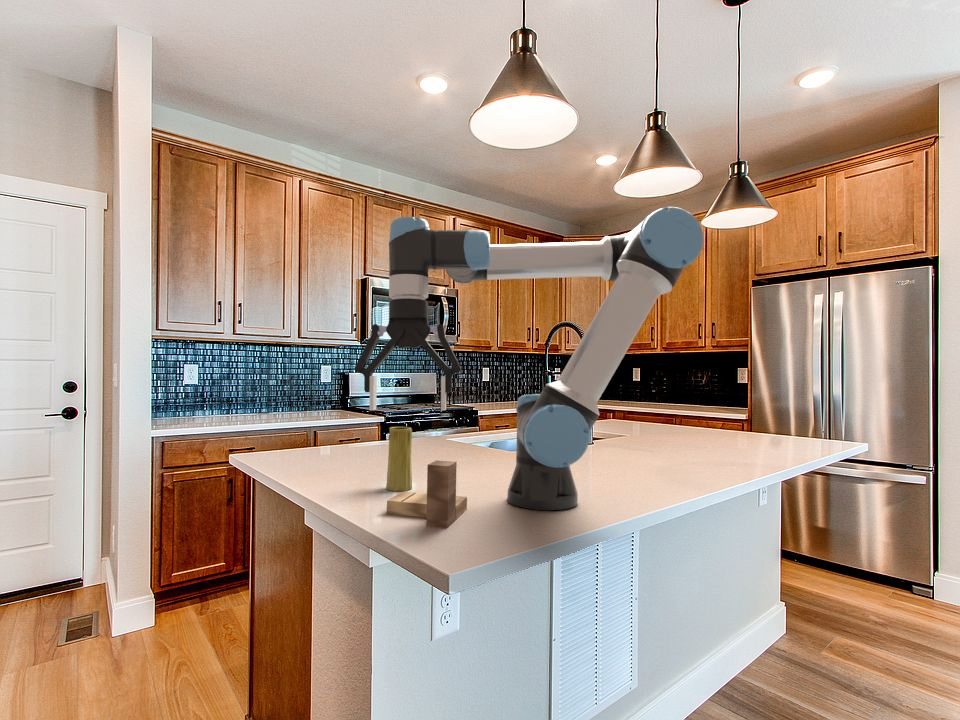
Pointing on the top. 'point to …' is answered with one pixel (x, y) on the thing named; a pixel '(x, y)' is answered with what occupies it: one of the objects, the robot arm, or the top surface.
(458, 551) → the top surface
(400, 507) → the board
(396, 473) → the vase
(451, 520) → the upright wooden block
